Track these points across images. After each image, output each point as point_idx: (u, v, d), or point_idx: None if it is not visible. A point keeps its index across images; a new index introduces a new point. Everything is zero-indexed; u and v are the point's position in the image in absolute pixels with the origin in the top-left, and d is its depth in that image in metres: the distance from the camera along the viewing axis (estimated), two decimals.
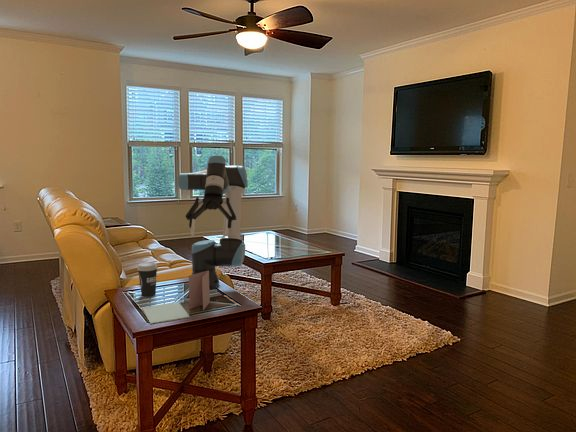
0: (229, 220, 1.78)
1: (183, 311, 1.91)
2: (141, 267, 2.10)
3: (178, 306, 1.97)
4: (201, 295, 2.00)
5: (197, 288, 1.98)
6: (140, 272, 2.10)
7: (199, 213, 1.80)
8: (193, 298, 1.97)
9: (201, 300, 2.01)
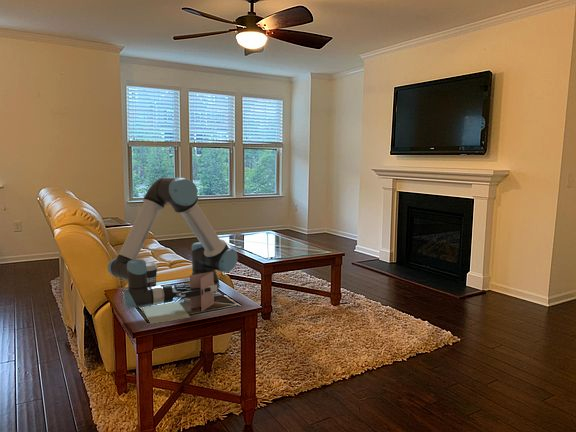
0: None
1: (183, 311, 1.91)
2: None
3: (178, 306, 1.97)
4: None
5: None
6: None
7: None
8: (194, 298, 1.97)
9: None
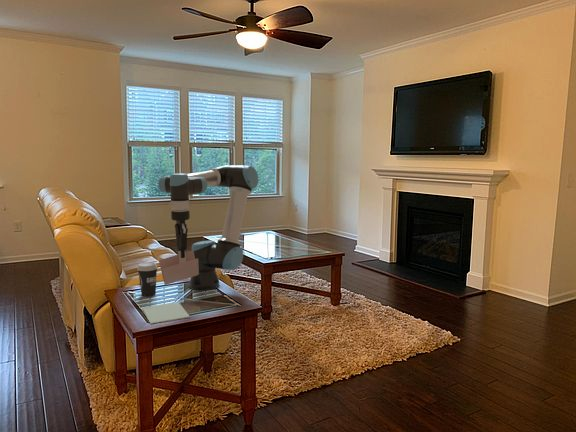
0: None
1: (183, 311, 1.91)
2: (141, 267, 2.10)
3: (178, 306, 1.97)
4: None
5: None
6: (140, 272, 2.10)
7: None
8: (169, 261, 1.89)
9: None
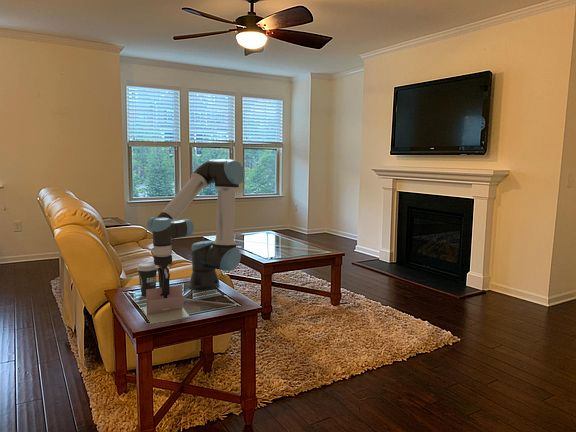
0: None
1: (183, 311, 1.91)
2: (141, 267, 2.10)
3: None
4: None
5: None
6: (140, 272, 2.10)
7: None
8: (156, 292, 1.87)
9: None
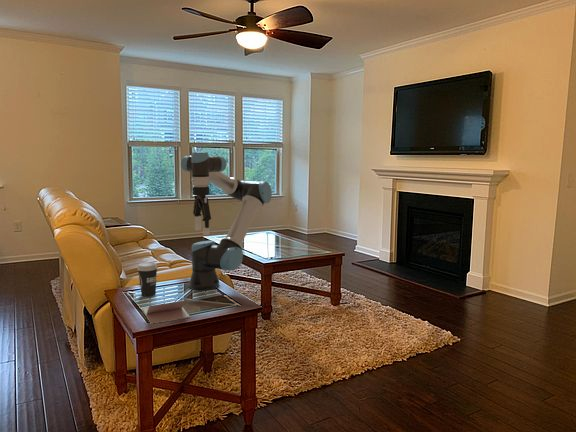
0: (205, 221, 1.96)
1: None
2: (141, 267, 2.10)
3: None
4: (158, 309, 1.86)
5: (168, 306, 1.86)
6: (140, 272, 2.10)
7: (198, 210, 2.07)
8: (159, 305, 1.82)
9: (152, 309, 1.85)
